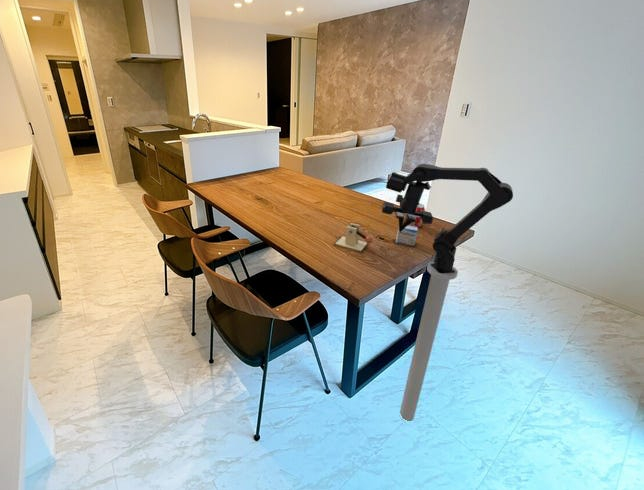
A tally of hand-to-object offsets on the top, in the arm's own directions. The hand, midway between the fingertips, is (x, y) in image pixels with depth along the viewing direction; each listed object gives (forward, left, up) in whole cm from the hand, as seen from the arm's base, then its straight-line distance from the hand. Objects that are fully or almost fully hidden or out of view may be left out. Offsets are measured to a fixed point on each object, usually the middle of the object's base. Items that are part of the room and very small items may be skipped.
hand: (399, 230), depth 121 cm
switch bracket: (+12, +15, -12) cm, 23 cm away
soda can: (+29, -24, -12) cm, 39 cm away
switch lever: (+10, +13, -7) cm, 18 cm away
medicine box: (+11, -10, -12) cm, 19 cm away
